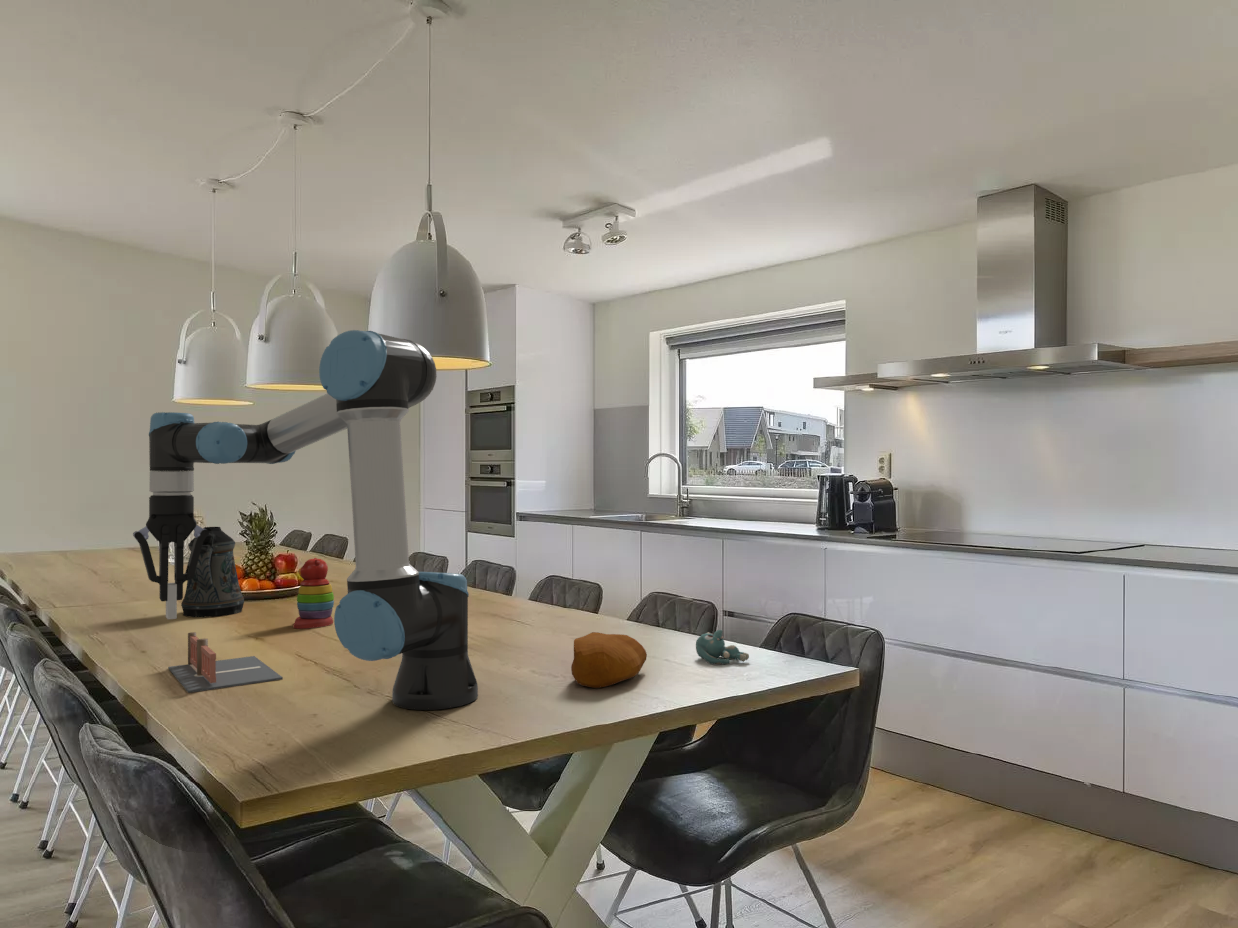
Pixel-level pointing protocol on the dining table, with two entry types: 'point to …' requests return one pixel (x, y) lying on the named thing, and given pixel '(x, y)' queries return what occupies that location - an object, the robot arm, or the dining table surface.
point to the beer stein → (214, 579)
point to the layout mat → (225, 674)
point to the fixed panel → (195, 651)
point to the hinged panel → (208, 664)
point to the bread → (606, 659)
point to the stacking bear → (314, 596)
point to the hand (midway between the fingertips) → (171, 617)
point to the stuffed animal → (717, 649)
